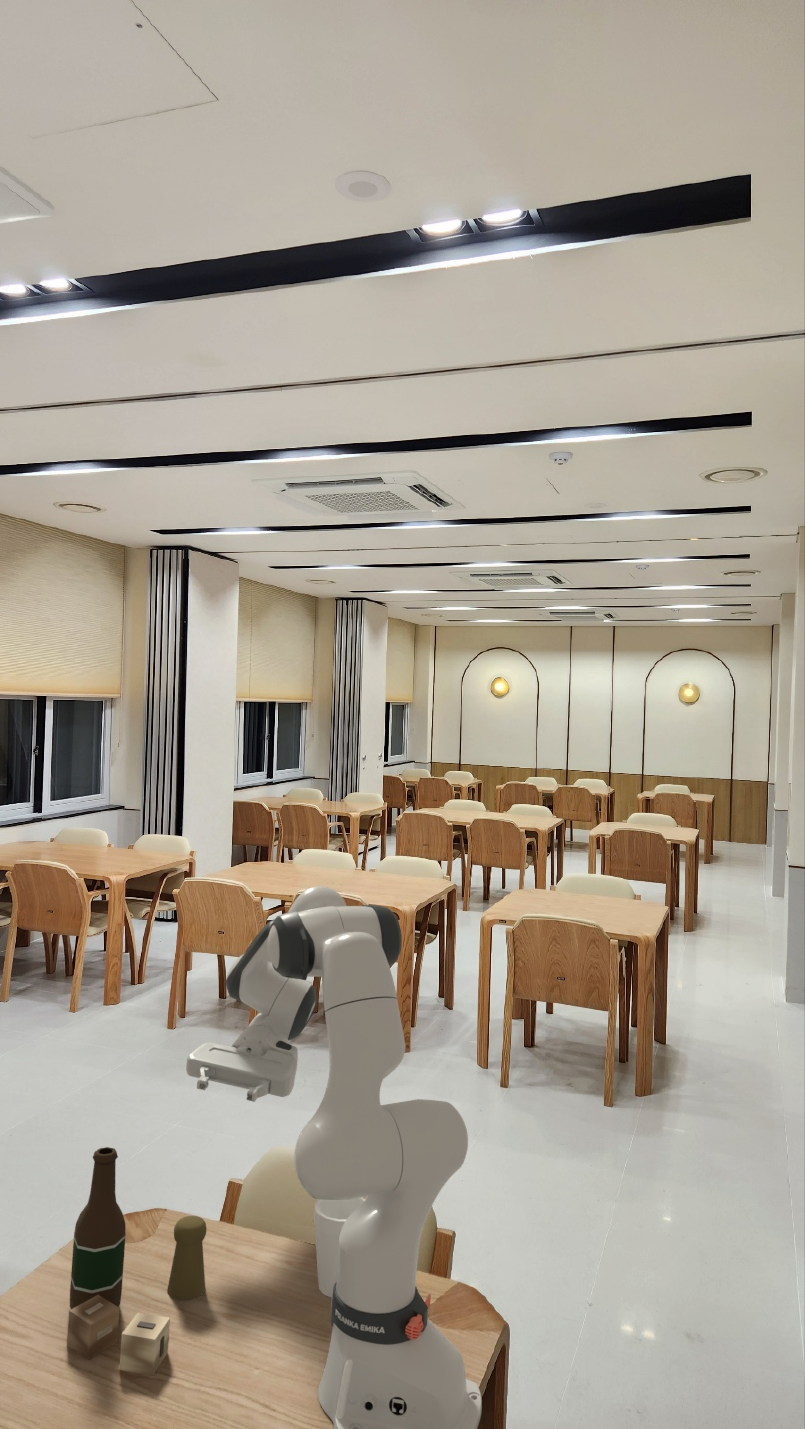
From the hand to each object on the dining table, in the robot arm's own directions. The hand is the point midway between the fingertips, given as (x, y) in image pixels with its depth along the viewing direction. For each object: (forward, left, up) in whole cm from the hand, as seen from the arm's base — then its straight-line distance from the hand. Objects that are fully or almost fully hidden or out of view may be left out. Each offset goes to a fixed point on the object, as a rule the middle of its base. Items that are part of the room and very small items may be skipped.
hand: (225, 1091), depth 159 cm
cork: (-2, +12, -27) cm, 30 cm away
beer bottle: (+8, +22, -27) cm, 36 cm away
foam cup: (-24, +1, -27) cm, 36 cm away
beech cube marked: (-6, +29, -27) cm, 40 cm away
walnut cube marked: (+3, +29, -27) cm, 40 cm away
